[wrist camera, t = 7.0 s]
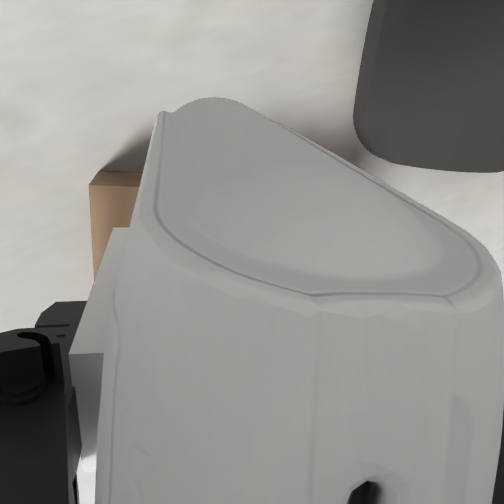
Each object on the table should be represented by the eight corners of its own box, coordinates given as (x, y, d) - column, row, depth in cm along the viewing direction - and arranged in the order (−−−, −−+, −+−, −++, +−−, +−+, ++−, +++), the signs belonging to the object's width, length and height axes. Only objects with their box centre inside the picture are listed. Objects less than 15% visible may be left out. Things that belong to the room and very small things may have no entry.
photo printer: (253, 379, 17) (404, 958, 6) (139, 381, 16) (73, 1057, 5) (291, 104, 14) (874, 290, 2) (147, 88, 13) (-35, 258, 1)
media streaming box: (384, -77, 28) (407, -93, 25) (578, -38, 31) (617, -48, 28) (341, 155, 33) (356, 163, 31) (509, 170, 36) (537, 179, 33)
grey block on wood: (108, 383, 37) (93, 460, 30) (98, 170, 31) (75, 203, 23) (292, 376, 40) (319, 445, 33) (320, 181, 33) (362, 213, 26)
